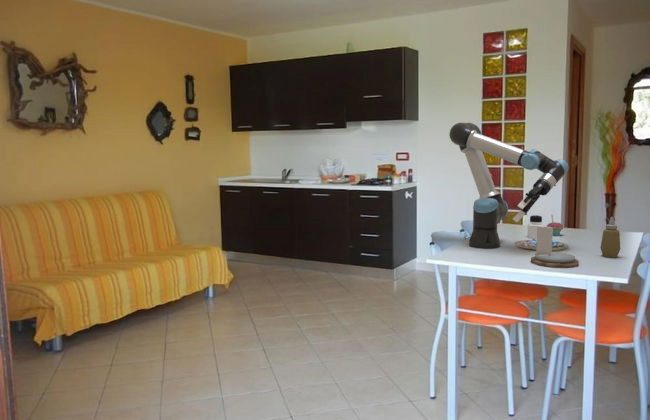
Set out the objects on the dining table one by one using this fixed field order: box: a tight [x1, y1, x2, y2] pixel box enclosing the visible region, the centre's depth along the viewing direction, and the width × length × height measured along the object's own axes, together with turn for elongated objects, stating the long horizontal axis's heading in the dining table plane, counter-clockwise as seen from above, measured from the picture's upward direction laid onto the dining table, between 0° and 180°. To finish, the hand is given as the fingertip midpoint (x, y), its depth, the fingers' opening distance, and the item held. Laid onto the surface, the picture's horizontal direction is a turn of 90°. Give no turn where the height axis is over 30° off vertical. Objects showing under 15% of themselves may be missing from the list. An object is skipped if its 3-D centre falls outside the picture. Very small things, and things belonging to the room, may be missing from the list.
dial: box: [534, 225, 576, 263], centre depth 238 cm, size 16×16×14 cm
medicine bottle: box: [527, 214, 545, 240], centre depth 302 cm, size 7×7×12 cm
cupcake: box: [546, 214, 564, 237], centre depth 310 cm, size 9×8×12 cm
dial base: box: [530, 255, 580, 269], centre depth 239 cm, size 19×19×2 cm
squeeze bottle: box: [599, 216, 621, 258], centre depth 251 cm, size 8×8×18 cm
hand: (517, 214), depth 261 cm, fingers open, 13 cm apart
